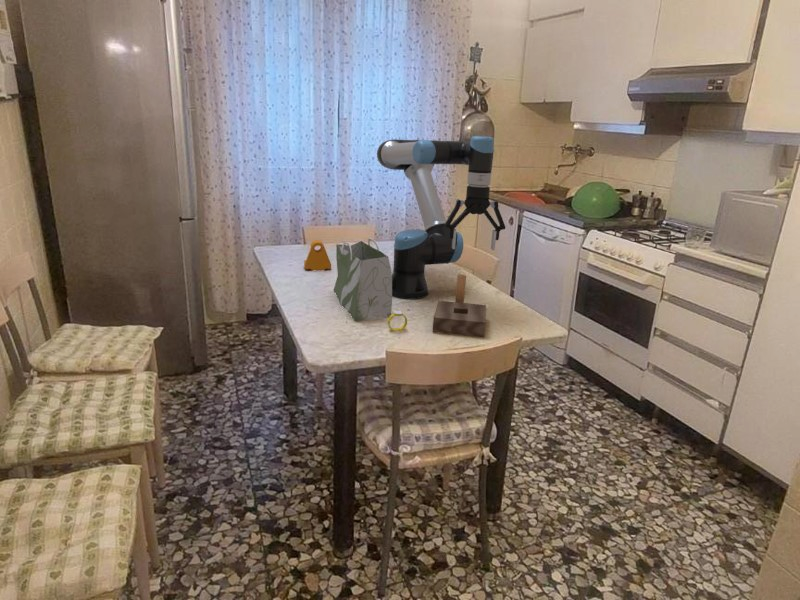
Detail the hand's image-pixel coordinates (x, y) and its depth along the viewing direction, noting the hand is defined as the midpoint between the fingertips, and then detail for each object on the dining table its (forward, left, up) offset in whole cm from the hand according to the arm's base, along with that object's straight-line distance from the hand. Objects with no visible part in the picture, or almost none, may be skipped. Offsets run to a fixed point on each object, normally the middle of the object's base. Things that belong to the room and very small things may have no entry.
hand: (473, 248), depth 180 cm
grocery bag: (-38, -7, -22) cm, 44 cm away
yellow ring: (-21, -27, -22) cm, 40 cm away
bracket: (-65, +31, -22) cm, 75 cm away
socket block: (-2, -18, -21) cm, 28 cm away
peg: (-3, -2, -21) cm, 22 cm away
